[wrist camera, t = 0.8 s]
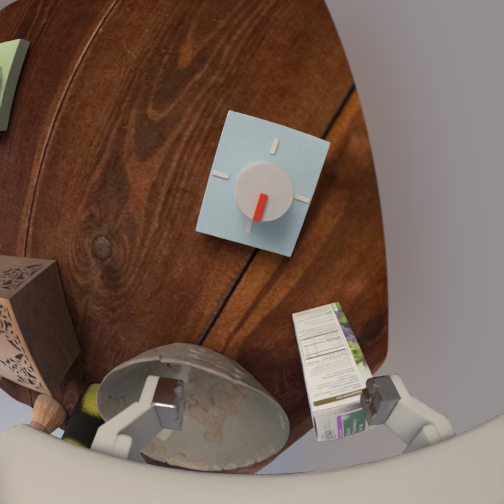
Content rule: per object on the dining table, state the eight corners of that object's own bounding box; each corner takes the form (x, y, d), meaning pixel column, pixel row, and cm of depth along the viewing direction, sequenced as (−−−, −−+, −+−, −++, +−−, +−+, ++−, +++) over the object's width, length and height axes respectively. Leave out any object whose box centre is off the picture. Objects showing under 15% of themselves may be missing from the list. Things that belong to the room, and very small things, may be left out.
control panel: (230, 113, 24) (228, 109, 21) (322, 142, 25) (331, 142, 22) (200, 222, 28) (194, 231, 25) (286, 246, 29) (290, 258, 26)
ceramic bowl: (235, 274, 30) (231, 333, 21) (303, 398, 38) (313, 453, 29) (90, 332, 33) (58, 381, 24) (178, 428, 41) (170, 475, 32)
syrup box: (342, 336, 34) (379, 427, 20) (297, 348, 34) (317, 445, 21) (338, 300, 32) (384, 393, 18) (288, 313, 32) (310, 415, 19)
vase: (46, 411, 42) (0, 510, 15) (31, 389, 40) (-24, 493, 12) (82, 422, 43) (40, 535, 15) (67, 400, 40) (14, 522, 12)
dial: (244, 154, 23) (243, 156, 19) (294, 169, 23) (302, 174, 20) (229, 203, 24) (226, 214, 21) (278, 217, 25) (283, 230, 21)
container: (117, 378, 37) (56, 551, 9) (153, 419, 40) (120, 572, 13) (73, 383, 38) (10, 521, 10) (108, 421, 41) (67, 550, 14)
